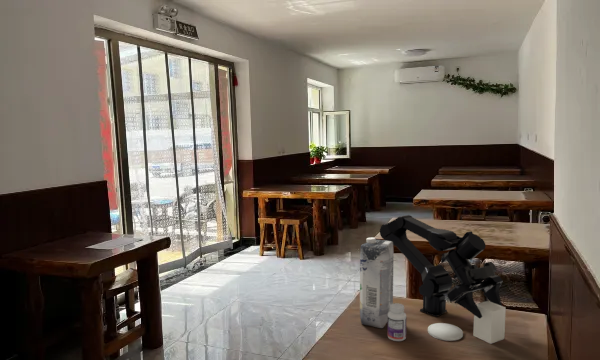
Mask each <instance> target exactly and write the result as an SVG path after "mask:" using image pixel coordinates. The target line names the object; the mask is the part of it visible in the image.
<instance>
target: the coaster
mask: <svg viewBox="0 0 600 360" xmlns="http://www.w3.org/2000/svg"><path fill="white" fill-rule="evenodd" d="M427 333H428V335H430V337H433V338H435V339H437V340H440V341H447V342H449V341H450V342H452V341H453V342H454V341H459V340H460V339H462V338H463V336H464V331H463V330H462V329H461V328H460V327H458V325H457V326H456V325H454V324H451V323H446V322H445V323H444V322H437V323H432V324H430V325H429V326H428V327H427Z"/></svg>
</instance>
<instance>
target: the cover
mask: <svg viewBox="0 0 600 360" xmlns="http://www.w3.org/2000/svg"><path fill="white" fill-rule="evenodd" d="M476 305H477V307H478V309H479V310H480V312H481V315H482V318H478V317H477V316H475V315H474V314H473V332H472V333H473V335H472V336H473V337H476V338H477V339H480V340H482V341H484V342H486V343H488V344H490V345H491V344H494V343H497V342H500V341H503V340H504V339H505V329H506V310H507V309H506V308H507V307H506V306H503V305H502V306H501V305H498V304H495V303H493V302H490V301H489V300H485V301H482V302H480V303H476Z"/></svg>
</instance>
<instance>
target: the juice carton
mask: <svg viewBox="0 0 600 360" xmlns="http://www.w3.org/2000/svg"><path fill="white" fill-rule="evenodd" d="M359 253H360V255H359V257H360V258H359V317H360V318H359V319H360V323H361V325H365V326H370V327H373V328H374V327H375V328H379V329H383V328H385V326H386V324H388V313H389V312H390V305H391V304H393V303H394V261H395V260H394V253H395V252H394V245H393V242H392V241H386V240H384V239H377V238H376V237H372V236H371V237H367V238H366V241H365V243H363V244H361V245H360V252H359Z"/></svg>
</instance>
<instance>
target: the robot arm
mask: <svg viewBox="0 0 600 360" xmlns="http://www.w3.org/2000/svg"><path fill="white" fill-rule="evenodd" d="M407 231H408V232H411V233H413V234H415V235H417V236H418V237H421V238H423V239H424V240H426V241H427V242H428V243H429V246H430V247H432V248H433V249H435V250H436V251H438V252H444V251H448V252H445V253H441V258H440V262H441V263H442V264H443V263H446V262H447V263H448V265H449V267H450V269H452V272H453V273H454V275H453V277H452V276H451V275H450V272H449V271H447V270H446V268H444V266H443V265H442V264H439V265H434V264H432V263H431V261H429V260H428V259H427V257H426V256H425V255H424V254H423V253H422V252H421V251H420V250H419V249H418V248H417V247H416V246H415V245H414V244H413V242H412V241H411V239H409V238H408V236H407ZM379 235H380V238H382V240H386V241H392V242H393V247H396V248H397V249H398V250H399V251H400V252H401V253H402V255H403V256H404V257H405V258H406V259H407V260H408V261H409V262H410V263H411V265H412V266H413V267H414V268H415V269H416V270H417V272H419V273H420V275H421V280H422V284H421V285H420V286H419V287H418V291H419V294H420V295H421V296H422V297H423V298H422V308H421V309H419V312H422V313H425V314H427V315H430V316H433V317H435V318H436V317H439V316H441V315H443V314H445V313H447V312H448V309H446V308H447V301H446V295H445V294H447V299H448V301H450V303H452V302H454V304H455V305H456V304H457V305H459V306H461V307H462V308H463V309H465V310H467V311H468V312H469V313H471V314H472V315H473V316H474V315H475V316H477V317H478V318H482V315H481V312H480V310H479V309H478V307H477V305H476V304H477V303H476V302H475V300H474V296H473V295H474V293H473V292H476V291H480V290H481V291H482V292H483V296H485V298H486V299H487V301H490V302H493V303H495V304H498V305H501V306H503V303H502V300H501V296H500V287H501V286H502V283H503V282H504V281H503V279H502V277H501V276H500V275H497V274H495V273H496V272H497V267H496V266H495V264H494V263H493V262H492V261H488V262H485V263H483V266H481V267H479V266H477V265H476V264H472V263H471V262H470V260H473V259H474V258H476V257H477V256H478V255H479V254H480V253H481V252H483V251H484V250H485V249H486V246H487V245H486V242H485V241H484V239H483V238H482V237H481V236H479V235H477V234H474V233H473V231H471V230H470V231H467V232H465V233H463V236H462V237H461V236H459V235H457V234H456V232H455V231H452V230H449V229H443V228H436V227H433V226H432V225H429V224H427V223H425V222H423V221H421V220H419V219H417V218H414V217H413V216H412V215H409V214H406V215H400V216H398V217H397V218H395V219H394V220H392V221H390V222H387V223H383V224H381V227H380V228H379ZM453 279H454V280H457V279H458V282H459V284H456V285H455V286H453V281H452V280H453Z"/></svg>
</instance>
